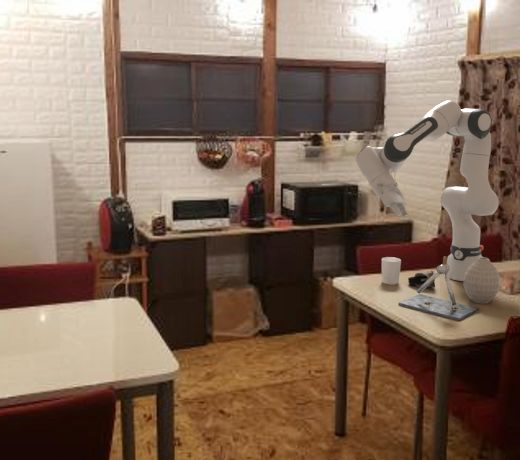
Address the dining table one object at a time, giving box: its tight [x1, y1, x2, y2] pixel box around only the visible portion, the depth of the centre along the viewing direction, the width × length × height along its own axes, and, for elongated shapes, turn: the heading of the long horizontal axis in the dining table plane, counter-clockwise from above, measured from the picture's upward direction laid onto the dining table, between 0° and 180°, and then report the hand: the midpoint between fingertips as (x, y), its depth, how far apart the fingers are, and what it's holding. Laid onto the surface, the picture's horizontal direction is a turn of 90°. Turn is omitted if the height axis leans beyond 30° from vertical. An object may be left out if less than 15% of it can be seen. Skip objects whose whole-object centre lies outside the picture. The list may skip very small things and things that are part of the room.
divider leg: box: [416, 264, 447, 295], centre depth 220 cm, size 2×3×15 cm
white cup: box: [381, 256, 402, 286], centre depth 252 cm, size 8×8×10 cm
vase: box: [463, 256, 501, 304], centre depth 227 cm, size 13×13×17 cm
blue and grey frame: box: [398, 256, 480, 322], centre depth 219 cm, size 15×24×19 cm, turn 45°
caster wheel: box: [407, 270, 436, 289], centre depth 248 cm, size 7×11×10 cm
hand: (403, 215), depth 226 cm, fingers open, 8 cm apart
